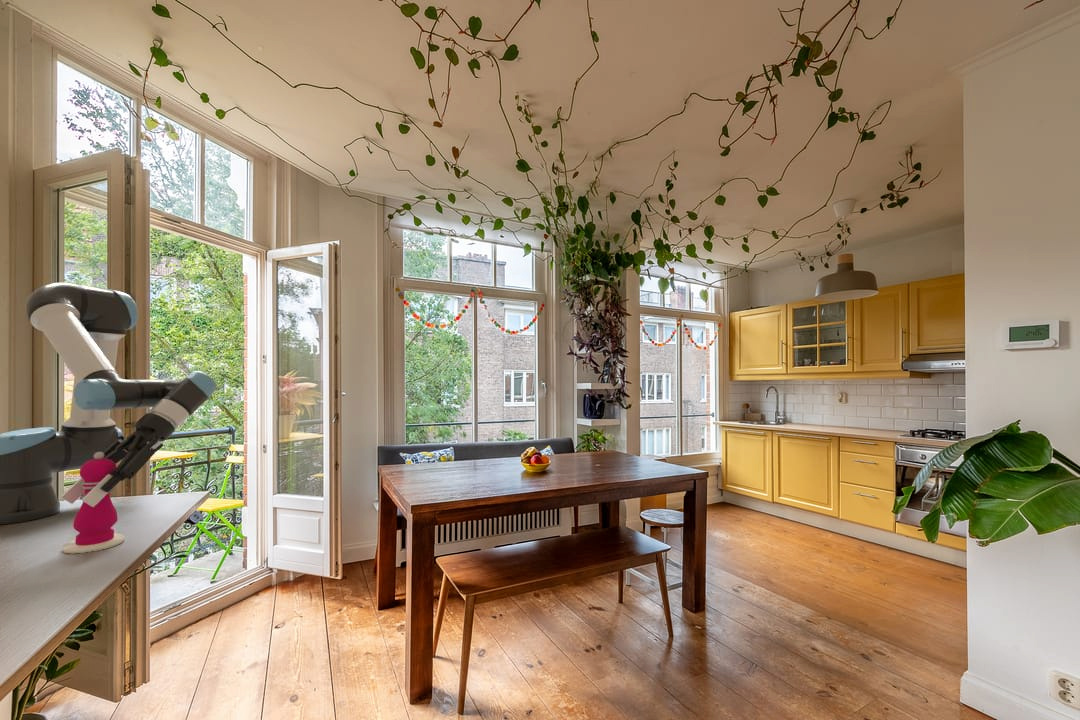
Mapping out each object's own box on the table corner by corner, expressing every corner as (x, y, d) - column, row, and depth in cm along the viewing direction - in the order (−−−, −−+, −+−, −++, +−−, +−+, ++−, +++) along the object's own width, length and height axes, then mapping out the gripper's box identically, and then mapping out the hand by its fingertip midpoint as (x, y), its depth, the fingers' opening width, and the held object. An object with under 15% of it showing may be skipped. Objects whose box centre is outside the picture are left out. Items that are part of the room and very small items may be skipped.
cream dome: (88, 538, 107) (88, 534, 107) (135, 536, 108) (135, 532, 108) (48, 554, 97) (48, 549, 97) (100, 552, 98) (100, 548, 98)
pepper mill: (125, 535, 106) (129, 449, 107) (92, 547, 99) (96, 454, 100) (97, 534, 107) (101, 449, 108) (62, 545, 100) (67, 454, 100)
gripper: (199, 432, 115) (119, 515, 99) (147, 429, 121) (64, 506, 105) (178, 412, 110) (90, 496, 94) (124, 410, 117) (34, 488, 101)
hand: (76, 501), depth 100 cm, fingers open, 7 cm apart
